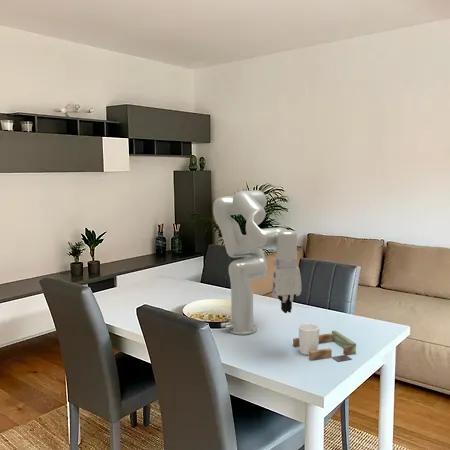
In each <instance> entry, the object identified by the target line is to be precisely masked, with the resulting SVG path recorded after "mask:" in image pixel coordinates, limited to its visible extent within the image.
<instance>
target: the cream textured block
mask: <svg viewBox="0 0 450 450" xmlns="http://www.w3.org/2000/svg"><path fill="white" fill-rule="evenodd" d="M319 335H320V326H319V325H317V324H313V323H302V324H299V326H298V338H299V344H300V346H299V352H300V353H301V354H302V355H305V356H309V351H315V350H319V344H318V343H319Z"/></svg>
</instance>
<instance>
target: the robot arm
mask: <svg viewBox="0 0 450 450" xmlns="http://www.w3.org/2000/svg"><path fill="white" fill-rule="evenodd" d="M267 203H268V202H267V197H266V194H265V193H264V192H263V191H262V190H257V189H254V190H241V191H237V192H236V193H235V194H234V195H227V196H221V197H220V196H219V197H218V198H216V199H215V201H214V202H213V205H212V206H213V207H212V211H213V212H212V213H213V217H214V220H215V222H216V224H217V226H218V228H219V229H220V232H221V236H222V240H223V243H224V247H225V250H226V254H227V255H228V256H229V257H230V258H240V259H235V260H233V261H231V262H230V264H229V265H228V275H229V280H230V296H231V297H230V298H231V299H230V300H231V302H230V303H231V308H230V309H231V319H229V321H227V322H220V327H221V328H225V329H227V330H228V332H229V333H231V334H232V335H239V336H241V335H242V336H244V335H245V336H246V335H252V334H254V333H256V332H257V330H258V327H257V326H256V324H254V290H253V288H252V286H251V284H250V283H249V281H251V280H252V281H253V280H259V279H263V278H265V277H267V274H268V270H269V267H268V263H267V259H266V256H265V253H264V250H265V249H272V248H273V249H274V248H275V249H276V250H275V251H276V252H275V253H276V254H275V255H276V256H275V257H276V258H275V261H273V262H272V264H273V266H275V267H274V269H273V270H274V271H273V274H272V275H273V276H272V295H271V297H272V298H274V299H277V300H279V301H280V308H281V312H283V313H284V314H287V313H289V314H290V313H292V309H293V306H292V305H293V304H292V303H293V302H294V300H295V299H296V297H299V296H300V295H301V294H302V293H301V292H302V278H301V271H300V267H299V266H298V233H297V232H296V231H295V230H291V229H290V230H289V229H287V228H284V227H268V228H260V227H259V226H258V225H260V224H261V223H262V222H263V221H264V220H265V218H266V215H267V212H266V210H265V208H266V206H267ZM236 215H237V216H238V215H241V216H242V217H243V218H244V220H245V221H246V223H245V233H246V234H243V233H242V230H241V228H240V225H239V223H238V222H237V221H236V220H235V218H233V217H231V216H236ZM243 257H247V258H243Z"/></svg>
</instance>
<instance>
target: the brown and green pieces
mask: <svg viewBox="0 0 450 450" xmlns="http://www.w3.org/2000/svg"><path fill="white" fill-rule="evenodd" d="M325 343H335V344H336V345H338V346H339V347H341V348H342V349H343V351H342V355H335V356H332V352H333V350H332V349H331V348H328V347H327V348H321V349H318V350H315V351H309V355H308V356H309V357H308V359H309V360H310V361H317V360H323V359H330V358H332V360H334V361H336V362H337V363H339V362H345V361H351V360H353V359H352V358H351V357H350V356H348V355H356V354H357V343H356V342H354V341H353V340H351V339H350V338H348V337H346V336H344V335H343V334H342V333H340V332H339V331H337V330H331V333H325V334H319V343H318V345H319V344H325ZM292 346H293V347H294V348H300V344H299V337H295V338H292Z"/></svg>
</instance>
